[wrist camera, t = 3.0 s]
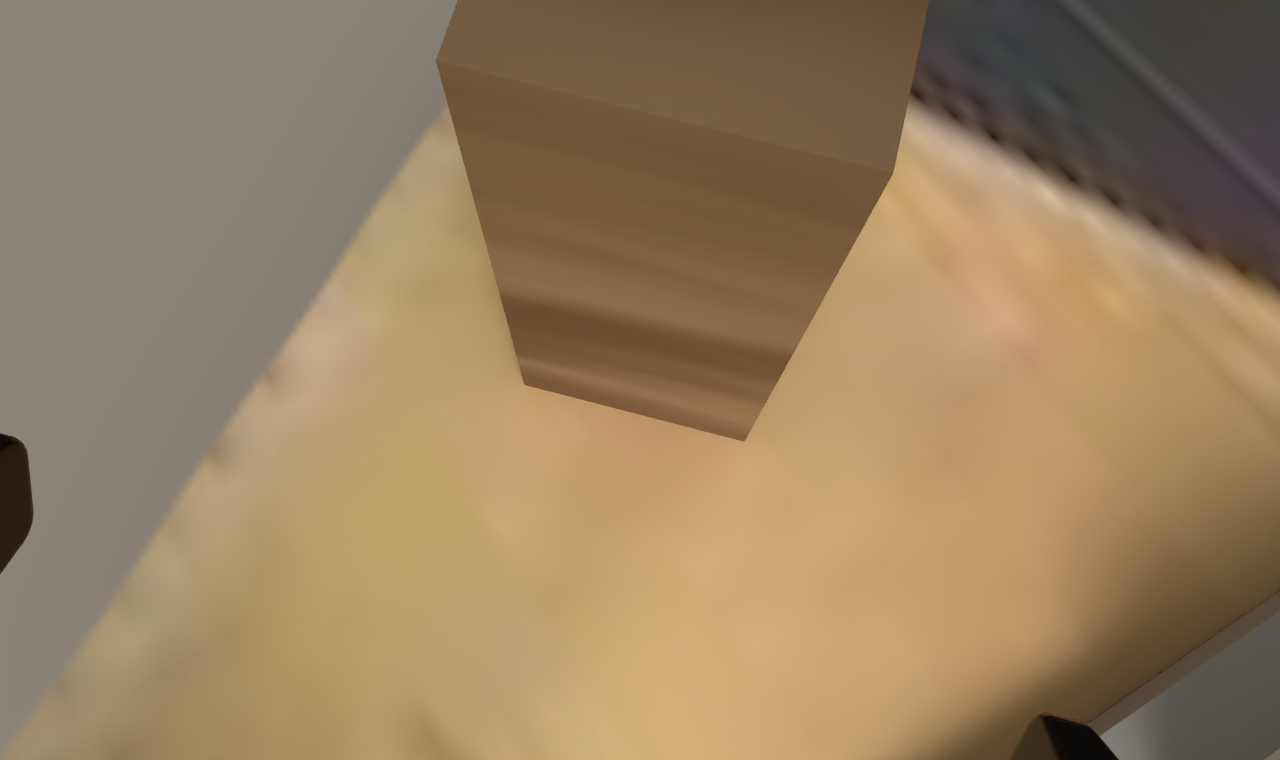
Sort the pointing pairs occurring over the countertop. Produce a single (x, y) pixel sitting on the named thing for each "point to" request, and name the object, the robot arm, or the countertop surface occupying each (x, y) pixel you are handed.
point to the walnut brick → (674, 182)
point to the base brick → (1207, 700)
